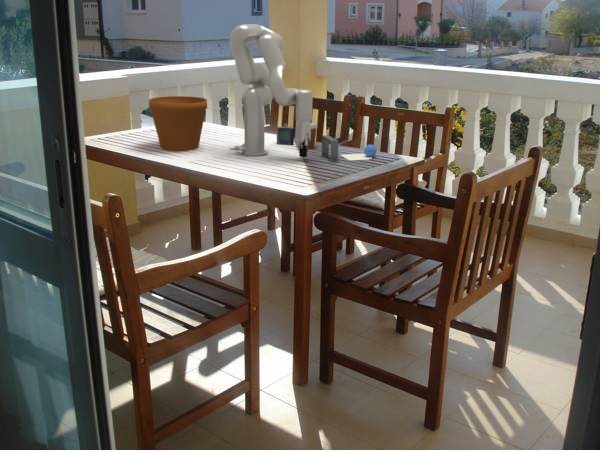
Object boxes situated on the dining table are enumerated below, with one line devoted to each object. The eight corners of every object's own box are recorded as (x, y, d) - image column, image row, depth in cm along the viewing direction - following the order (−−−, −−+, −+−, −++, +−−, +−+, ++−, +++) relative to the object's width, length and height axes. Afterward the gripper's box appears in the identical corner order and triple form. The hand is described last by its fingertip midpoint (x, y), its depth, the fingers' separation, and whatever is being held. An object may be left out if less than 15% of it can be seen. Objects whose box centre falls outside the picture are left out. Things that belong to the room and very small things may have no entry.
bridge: (331, 162, 320) (332, 141, 317) (321, 155, 334) (321, 135, 331) (337, 161, 321) (338, 140, 318) (327, 155, 334) (327, 135, 331)
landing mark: (349, 160, 323) (349, 160, 323) (339, 155, 335) (339, 154, 335) (375, 159, 327) (375, 159, 327) (364, 153, 339) (364, 153, 339)
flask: (275, 144, 359) (276, 123, 356) (278, 143, 361) (278, 122, 358) (292, 145, 356) (293, 124, 353) (294, 144, 359) (295, 123, 355)
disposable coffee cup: (315, 149, 347) (315, 125, 343) (296, 148, 349) (296, 124, 345) (318, 146, 356) (319, 122, 352) (300, 145, 357) (300, 121, 354)
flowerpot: (140, 150, 336) (138, 101, 329) (166, 140, 362) (164, 95, 355) (194, 155, 329) (192, 105, 322) (216, 144, 355) (215, 98, 348)
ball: (371, 160, 330) (364, 151, 327) (366, 158, 335) (359, 148, 333) (380, 152, 330) (374, 143, 328) (375, 150, 335) (369, 140, 333)
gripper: (291, 115, 323) (290, 153, 329) (300, 120, 310) (300, 160, 315) (306, 114, 325) (306, 153, 331) (316, 119, 312) (315, 159, 317)
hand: (303, 156), depth 323 cm, fingers closed
